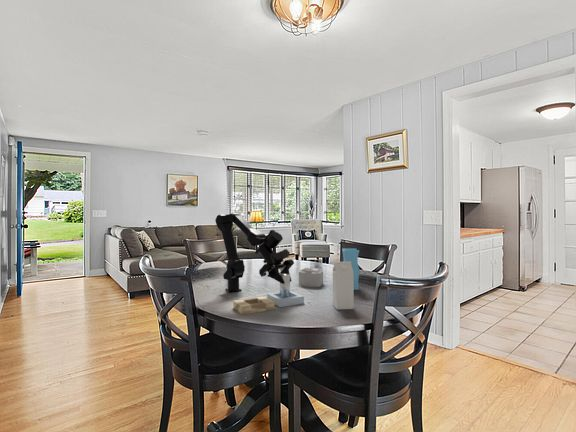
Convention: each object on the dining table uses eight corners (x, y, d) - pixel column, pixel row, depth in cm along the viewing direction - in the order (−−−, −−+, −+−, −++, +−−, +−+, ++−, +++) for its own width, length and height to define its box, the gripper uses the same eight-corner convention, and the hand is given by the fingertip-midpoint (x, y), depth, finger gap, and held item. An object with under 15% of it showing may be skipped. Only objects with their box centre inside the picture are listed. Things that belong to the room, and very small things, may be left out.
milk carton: (332, 304, 141) (332, 260, 140) (349, 304, 141) (348, 260, 141) (336, 310, 134) (336, 263, 133) (353, 309, 134) (353, 262, 134)
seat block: (267, 300, 148) (267, 293, 148) (290, 296, 154) (290, 290, 154) (279, 307, 138) (279, 300, 138) (304, 303, 144) (304, 296, 144)
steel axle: (278, 297, 145) (278, 274, 145) (283, 295, 149) (283, 273, 149) (286, 298, 143) (286, 275, 143) (291, 296, 147) (291, 274, 146)
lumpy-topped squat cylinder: (319, 287, 172) (319, 270, 172) (295, 285, 177) (295, 269, 177) (324, 283, 182) (324, 267, 182) (301, 281, 187) (301, 266, 187)
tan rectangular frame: (233, 307, 138) (233, 300, 138) (263, 302, 144) (263, 296, 144) (242, 314, 129) (242, 307, 128) (274, 309, 135) (274, 301, 135)
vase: (359, 289, 166) (359, 250, 166) (343, 289, 166) (343, 250, 166) (356, 286, 174) (356, 248, 174) (341, 286, 174) (341, 248, 174)
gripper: (263, 245, 141) (283, 274, 134) (291, 241, 155) (310, 268, 149) (250, 262, 146) (269, 290, 139) (278, 257, 160) (296, 282, 154)
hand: (287, 282), depth 145 cm, fingers closed on steel axle, 4 cm apart
